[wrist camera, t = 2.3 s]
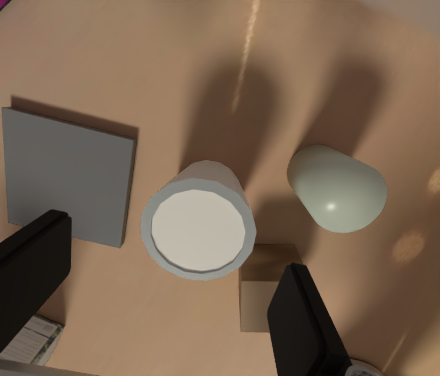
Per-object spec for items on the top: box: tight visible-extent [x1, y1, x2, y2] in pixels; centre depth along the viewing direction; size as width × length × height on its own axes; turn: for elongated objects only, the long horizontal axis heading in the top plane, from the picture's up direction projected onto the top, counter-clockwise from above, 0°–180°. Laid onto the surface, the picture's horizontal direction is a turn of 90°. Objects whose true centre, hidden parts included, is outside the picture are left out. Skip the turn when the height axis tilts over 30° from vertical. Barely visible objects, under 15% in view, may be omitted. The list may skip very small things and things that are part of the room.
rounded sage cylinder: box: [287, 144, 387, 233], centre depth 17 cm, size 4×4×6 cm
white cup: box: [141, 160, 257, 281], centre depth 18 cm, size 7×7×7 cm
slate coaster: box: [2, 107, 137, 248], centre depth 20 cm, size 10×10×1 cm
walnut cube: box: [239, 244, 303, 333], centre depth 21 cm, size 5×5×5 cm
